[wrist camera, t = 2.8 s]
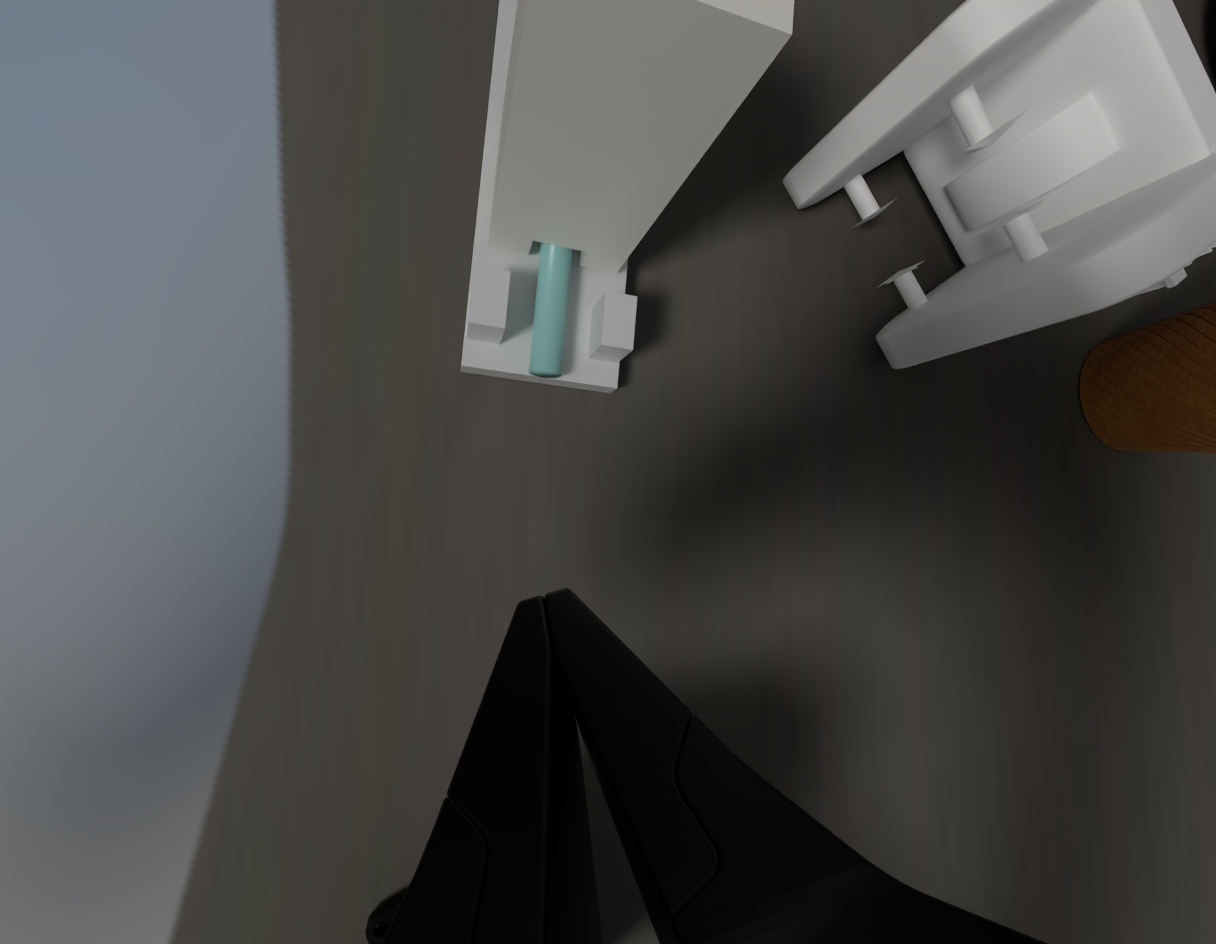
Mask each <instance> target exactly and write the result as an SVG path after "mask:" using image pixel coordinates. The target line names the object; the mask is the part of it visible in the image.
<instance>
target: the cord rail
mask: <svg viewBox="0 0 1216 944" xmlns="http://www.w3.org/2000/svg"><path fill="white" fill-rule="evenodd" d="M517 2H518V0H500V1H499V10H498V20H497V29H496V39H495V48H494V58H493V67H492V77H491V86H490V96H489V105H488V115H487V124H486V134H485V143H484V153H483V163H482V172H481V182H480V191H479V201H478V210H477V220H476V229H475V239H474V248H473V258H472V267H471V277H470V286H469V296H468V305H467V315H466V324H465V334H464V343H463V353H462V362H461V372H466V373H473V374H480V375H487V376H494V377H501V378H508V379H515V380H522V381H528V382H535V383H542V384H549V385H556V386H563V387H570V388H577V389H584V390H591V391H598V392H604V393H611V392H613V391H614V390H616V389H617V387H618V374H619V362H620V360H622V359H623V358H624V357H625V356H626V355H628V354H629V353H630V352H631V351H633V345H634V332H635V320H636V307H637V296H632V295H627V294H625V289H626V277H627V264H628V258H627V260H626V261H625V262H624V264H623V265H622V267H621V268H620V269H619V271H618V272H617V273H613V272H609V271H604V270H599V269H594V268H589V267H584V266H580V256H581V251H579V250H575V249H570V248H565V247H561V246H556V245H551V244H547V243H542V242H537V241H533V242H532V245H531V248H530V251H529V254H528V255H526V254H521V253H516V252H511V251H507V250H502V249H497V248H492V247H488V240H489V230H490V220H491V211H492V201H493V191H494V181H495V172H496V162H497V152H498V143H499V133H500V123H501V115H502V108H503V101H504V94H505V87H506V80H507V73H508V66H509V58H510V51H511V44H512V37H513V30H514V23H515V16H516V9H517Z"/></svg>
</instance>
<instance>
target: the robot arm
mask: <svg viewBox="0 0 1216 944" xmlns="http://www.w3.org/2000/svg"><path fill="white" fill-rule="evenodd" d="M575 717H576V718H575ZM576 720H577V723H578V727H579V730H580V733H581V736H582V738H583V741H584V744H585V747H586V749H587V752H588V755H589V757H590V760H591V763H592V765H593V768H594V771H595V773H596V776H597V779H598V781H599V784H600V787H601V789H602V792H603V795H604V797H605V800H606V802H607V805H608V808H609V810H610V813H611V816H612V818H613V821H614V824H615V826H616V829H617V832H618V834H619V837H620V840H621V842H622V845H623V848H624V850H625V853H626V855H627V858H628V861H629V863H630V866H631V869H632V871H633V874H634V877H635V879H636V882H637V885H638V887H639V890H640V893H641V895H642V898H643V901H644V903H645V906H646V908H647V911H648V914H649V916H650V919H651V922H652V924H653V927H654V930H655V932H656V935H657V938H658V940H659V943H660V944H1047V943H1045V942H1042V941H1040V940H1037V939H1035V938H1032V937H1030V936H1027V935H1025V934H1023V933H1020V932H1018V931H1015V930H1013V929H1010V928H1008V927H1005V926H1003V925H1000V924H998V923H996V922H993V921H991V920H988V919H986V918H983V917H981V916H978V915H976V914H973V913H971V912H969V911H966V910H964V909H961V908H959V907H956V906H954V905H951V904H949V903H947V902H944V901H942V900H939V899H937V898H934V897H932V896H929V895H927V894H925V893H922V892H920V891H918V890H916V889H914V888H912V887H910V886H908V885H906V884H904V883H902V882H900V881H899V880H897V879H895V878H894V877H892V876H890V875H889V874H887V873H885V872H884V871H883V870H881V869H880V868H878V867H877V866H875V865H874V864H872V863H871V862H869V861H868V860H867V859H865V858H864V857H863V856H861V855H860V854H859V853H857V852H856V851H855V850H853V849H852V848H851V847H850V846H848V845H847V844H846V843H845V842H843V841H842V840H841V839H839V838H838V837H837V836H836V835H834V834H833V833H832V832H831V831H829V830H828V829H827V828H826V827H824V826H823V825H822V824H820V823H819V822H818V821H817V820H815V819H814V818H813V817H812V816H810V815H809V814H808V813H806V812H805V811H804V810H803V809H801V808H800V807H799V806H798V805H796V804H795V803H794V802H792V801H791V800H790V799H789V798H787V797H786V796H785V795H784V794H782V793H781V792H780V791H778V790H777V789H776V788H775V787H773V786H772V785H771V784H770V783H768V782H767V781H766V780H765V779H764V778H762V777H761V776H760V775H759V774H758V773H757V772H755V771H754V770H753V769H752V768H751V767H749V766H748V765H747V764H746V763H745V762H743V761H742V760H741V759H740V758H739V757H738V756H737V755H735V754H734V753H733V752H732V751H731V750H730V749H729V748H728V747H727V746H726V745H725V744H724V743H723V742H722V741H721V740H720V739H719V738H717V737H716V736H715V735H714V734H713V733H712V732H711V731H710V730H709V729H708V728H707V727H706V726H705V725H704V724H703V723H702V722H701V721H700V720H699V719H698V718H697V717H696V716H692V712H691V711H690V710H689V709H688V708H687V707H686V706H685V705H684V704H683V703H682V702H681V701H680V700H679V699H678V698H677V697H676V696H675V695H674V694H673V693H672V692H671V691H670V690H669V689H668V688H667V687H666V686H665V685H664V684H663V683H662V682H661V681H660V680H659V679H658V678H657V677H656V676H655V674H654V673H653V672H652V671H651V670H650V669H649V668H648V667H647V666H646V665H645V664H644V663H643V662H642V661H641V660H640V659H639V658H638V657H637V656H636V655H635V654H634V653H633V652H632V651H631V650H630V649H629V648H628V647H627V646H626V645H625V644H624V643H623V642H622V641H621V640H620V639H619V638H618V637H617V636H616V635H615V634H614V633H613V632H612V631H611V630H610V629H609V628H608V627H607V626H606V625H605V624H604V623H603V622H602V621H601V620H600V619H599V618H598V617H597V616H596V615H595V614H594V613H593V612H592V611H591V610H590V609H589V608H588V607H587V606H586V605H585V604H584V603H583V602H582V601H581V600H580V599H579V598H578V597H577V596H576V595H575V594H574V593H573V592H572V591H571V590H570V589H569V588H564V589H560V590H557V591H553V592H550V593H547V594H546V595H545V599H544V597H542V596H536V597H533V598H529V599H526V600H523V601H520V602H519V603H518V605H517V607H516V610H515V612H514V615H513V618H512V620H511V623H510V626H509V628H508V631H507V634H506V636H505V639H504V642H503V644H502V647H501V650H500V652H499V655H498V658H497V660H496V663H495V666H494V668H493V671H492V674H491V676H490V679H489V682H488V684H487V687H486V690H485V692H484V695H483V698H482V700H481V703H480V706H479V708H478V711H477V714H476V716H475V719H474V722H473V724H472V727H471V730H470V732H469V735H468V738H467V740H466V743H465V746H464V748H463V751H462V754H461V756H460V759H459V762H458V764H457V767H456V770H455V772H454V775H453V778H452V780H451V783H450V786H449V788H448V791H447V796H448V797H446V798H445V799H444V801H443V804H442V806H441V809H440V812H439V814H438V817H437V820H436V822H435V825H434V828H433V830H432V833H431V835H430V838H429V840H428V842H427V845H426V847H425V850H424V852H423V855H422V857H421V860H420V862H419V865H418V867H417V870H416V872H415V874H414V876H413V878H412V880H411V882H410V885H409V887H408V889H407V891H406V893H405V894H403V895H401V896H399V897H397V898H395V899H393V900H392V901H390V902H388V903H386V904H384V905H382V906H380V907H379V908H377V909H376V910H374V911H373V912H372V913H371V915H370V916H369V919H368V922H367V927H366V938H367V940H368V943H369V944H602V936H601V927H600V918H599V909H598V900H597V891H596V883H595V874H594V865H593V856H592V847H591V838H590V830H589V821H588V812H587V803H586V794H585V785H584V777H583V768H582V759H581V750H580V742H579V735H578V728H577V723H576ZM382 921H384V922H387V923H388V924H389V925H388V926H387V927H386V928H383V929H379V928H377V927H376V926H375V925H376V924H378V923H379V922H382Z"/></svg>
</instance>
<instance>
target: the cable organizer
mask: <svg viewBox="0 0 1216 944" xmlns="http://www.w3.org/2000/svg"><path fill="white" fill-rule="evenodd" d="M902 151H904V154H905V157H906V159H907V161H908V162H909V164H910V166H911V168H912V170H913V172H914V174H915V175H916V177H917V179H918V181H919V183H920V185H921V186H922V188H923V190H924V192H925V194H926V196H927V198H928V199H929V201H930V203H931V205H932V207H933V209H934V210H935V212H936V214H937V216H938V218H939V220H940V222H941V223H942V225H943V227H944V229H945V231H946V233H947V234H948V236H949V238H950V240H951V242H952V244H953V246H954V247H955V249H956V251H957V253H958V255H959V257H960V258H961V260H962V262H963V263H964V265H965V267H964V268H962V269H961V270H960V271H958V272H957V273H955V274H954V275H953V276H951V277H950V278H949V279H947V280H946V281H944V282H943V283H942V284H940V285H939V286H938V287H936V288H935V289H933V290H932V291H931V292H929V293H928V294H926V295H925V294H924V293H923V291H922V289H921V287H920V285H919V284H918V282H917V280H916V278H915V276H914V275H913V273H912V271H911V270H913V269H915V268H917V267H916V266H917V265H919V264H920V263H922V262H923V261H922V262H920V263H918V264H915V265H913V266H911V267H908V268H906V269H904V270H901V271H899V272H897V273H896V274H894V275H893V276H892V277H890V278H889V279H887V280H886V281H885V282H883V283H882V284H880V285H879V286H881V285H884V284H886V283H887V284H888V283H890V282H892V281H893V282H894V284H895V285H896V287H897V289H898V291H899V292H900V294H901V296H902V298H903V300H904V301H905V303H906V305H907V307H908V308H907V309H906V310H904V311H903V312H902V313H900V314H899V315H897V316H896V317H895V318H893V319H892V320H891V321H890V322H889V323H887V324H886V325H885V326H884V327H883V328H882V329H881V330H880V331H879V332H878V334H877V335H876V340H877V342H878V344H879V346H880V347H881V349H882V351H883V353H884V354H885V356H886V358H887V360H888V361H889V363H890V365H891V367H892V368H894V369H902V368H906V367H910V366H913V365H917V364H920V363H923V362H927V361H930V360H934V359H937V358H940V357H944V356H947V355H950V354H954V353H957V352H960V351H964V350H967V349H971V348H974V347H977V346H981V345H984V344H987V343H991V342H994V341H997V340H1001V339H1004V338H1008V337H1011V336H1014V335H1018V334H1021V333H1024V332H1028V331H1031V330H1034V329H1038V328H1041V327H1045V326H1048V325H1051V324H1055V323H1058V322H1061V321H1065V320H1068V319H1071V318H1075V317H1078V316H1082V315H1085V314H1088V313H1092V312H1095V311H1098V310H1101V309H1104V308H1106V307H1109V306H1111V305H1114V304H1117V303H1119V302H1121V301H1124V300H1126V299H1128V298H1131V297H1133V296H1135V295H1139V294H1142V293H1145V292H1149V291H1152V290H1155V289H1158V288H1162V287H1165V286H1167V288H1171V287H1174V286H1176V285H1177V284H1178V283H1180V282H1181V281H1182V280H1183V279H1184V278H1185V277H1186V276H1187V274H1186V272H1185V270H1184V267H1186V266H1188V265H1190V264H1191V263H1192V261H1193V260H1194V259H1195V258H1197V257H1199V256H1201V255H1204V254H1207V253H1209V252H1212V251H1213V250H1212V248H1214V247H1216V93H1215V91H1214V88H1213V86H1212V84H1211V82H1210V80H1209V78H1208V76H1207V73H1206V71H1205V69H1204V67H1203V65H1202V63H1201V61H1200V59H1199V56H1198V54H1197V52H1196V50H1195V48H1194V46H1193V44H1192V41H1191V39H1190V37H1189V35H1188V33H1187V31H1186V29H1185V27H1184V24H1183V22H1182V20H1181V18H1180V16H1179V14H1178V12H1177V9H1176V7H1175V5H1174V3H1173V1H1172V0H966V1H965V2H964V3H963V4H962V5H960V6H959V7H958V8H957V9H956V10H955V11H954V12H953V13H952V14H950V15H949V16H948V17H947V18H946V19H945V20H944V21H943V22H942V23H941V24H940V25H939V26H938V27H937V28H936V29H935V30H934V31H933V32H932V33H931V34H930V35H929V36H928V37H927V38H926V39H925V40H924V41H923V42H921V43H920V44H919V45H918V46H917V47H916V48H915V49H914V50H913V51H912V52H911V53H910V54H909V55H908V56H907V57H906V58H905V59H904V60H903V61H902V62H901V63H900V64H899V65H898V66H897V67H896V68H895V69H894V70H893V71H892V72H891V73H890V74H889V75H888V76H887V77H885V78H884V79H883V80H882V81H881V82H880V83H879V84H878V85H877V86H876V87H875V88H874V89H873V90H872V91H871V92H870V93H869V94H868V95H867V96H866V97H865V98H864V99H863V100H862V101H861V102H860V103H859V104H858V105H857V106H856V107H855V108H854V109H853V110H852V111H850V112H849V113H848V114H847V115H846V116H845V117H844V118H843V119H842V120H841V121H840V122H839V123H838V124H837V125H836V126H835V127H834V128H833V129H832V130H831V131H830V132H829V133H828V134H827V135H826V136H825V137H824V138H823V139H822V140H821V141H820V142H819V143H818V144H817V145H816V146H814V147H813V148H812V149H811V150H810V151H809V152H808V153H807V154H806V155H805V156H804V157H803V158H802V159H801V160H800V161H799V162H798V163H797V164H796V165H795V166H794V167H793V168H792V169H791V170H790V171H789V172H788V173H787V175H786V176H785V177H784V179H783V184H784V186H785V188H786V190H787V191H788V193H789V195H790V197H791V198H792V200H793V202H794V204H795V205H796V207H797V208H798V209H803V208H806V207H809V206H811V205H813V204H815V203H817V202H819V201H821V200H823V199H824V198H826V197H828V196H829V195H831V194H833V193H834V192H836V191H838V190H839V189H841V188H843V187H844V188H845V190H846V192H847V194H848V195H849V197H850V199H851V201H852V203H853V204H854V206H855V208H856V210H857V211H858V213H859V215H860V217H861V219H862V221H861V222H859V223H858V224H857V225H856V226H858V225H860V224H862V223H864V222H866V221H868V220H870V219H872V218H874V217H876V216H877V215H878V214H879V213H880V212H882V211H883V210H884V209H885V208H886V207H887V206H889V205H890V204H891V203H892V202H893V201H894V200H893V201H891V202H889V203H888V204H886V205H885V206H883V207H882V208H879V206H878V204H877V202H876V200H875V199H874V197H873V195H872V193H871V191H870V189H869V188H868V186H867V184H866V182H865V180H864V179H863V177H862V175H864V174H866V173H867V172H869V171H870V170H872V169H874V168H875V167H877V166H879V165H880V164H882V163H884V162H885V161H887V160H888V159H890V158H892V157H893V156H895V155H897V154H898V153H900V152H902ZM896 199H897V198H896ZM896 199H895V200H896ZM856 226H854V227H856ZM854 227H853V228H854ZM851 229H852V228H851ZM914 267H915V268H914ZM887 284H886V285H887ZM879 286H878V287H879ZM876 288H877V287H876Z"/></svg>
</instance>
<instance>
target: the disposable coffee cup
mask: <svg viewBox="0 0 1216 944" xmlns="http://www.w3.org/2000/svg"><path fill="white" fill-rule="evenodd" d="M1080 400H1081V405H1082V409H1083V412H1084V415H1085V418H1086V420H1087V422H1088V424H1089V426H1090V427H1091V429H1092V431H1093V432H1094V434H1095V435H1096V436H1097V437H1098V438H1099V439H1100V440H1101V441H1102V442H1103V443H1104V444H1106V445H1108V446H1109V447H1111V448H1113V449H1116V450H1119V451H1165V452H1206V453H1216V301H1214V302H1211V303H1208V304H1205V305H1203V306H1200V307H1197V308H1194V309H1191V310H1189V311H1186V312H1183V313H1181V314H1178V315H1175V316H1172V317H1169V318H1167V319H1164V320H1161V321H1158V322H1156V323H1153V324H1150V325H1147V326H1145V327H1142V328H1139V329H1137V330H1134V331H1131V332H1128V333H1125V334H1123V335H1120V336H1117V337H1114V338H1111V339H1109V340H1106V341H1104V342H1102V343H1100V344H1098V345H1097V346H1096V347H1095V348H1093V350H1092V351H1091V352H1090V354H1089V355H1088V356H1087V358H1086V361H1085V363H1084V365H1083V368H1082V372H1081V376H1080Z"/></svg>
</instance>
